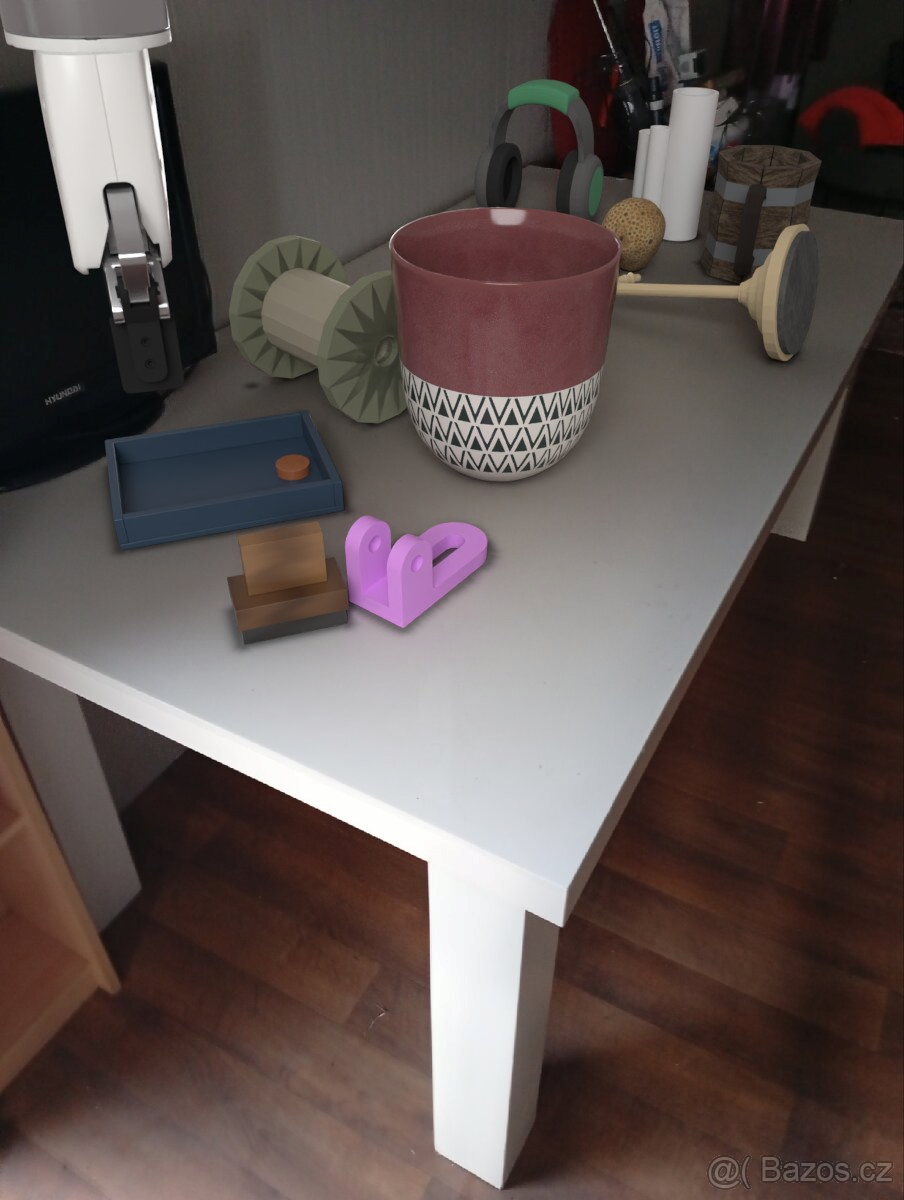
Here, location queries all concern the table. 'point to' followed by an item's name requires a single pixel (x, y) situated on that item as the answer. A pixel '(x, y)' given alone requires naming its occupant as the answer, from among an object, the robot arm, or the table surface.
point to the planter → (503, 333)
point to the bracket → (408, 566)
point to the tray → (217, 479)
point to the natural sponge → (636, 230)
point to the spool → (320, 326)
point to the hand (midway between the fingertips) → (146, 353)
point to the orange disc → (293, 467)
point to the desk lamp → (762, 291)
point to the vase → (678, 161)
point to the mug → (755, 206)
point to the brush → (286, 584)
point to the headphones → (504, 162)
